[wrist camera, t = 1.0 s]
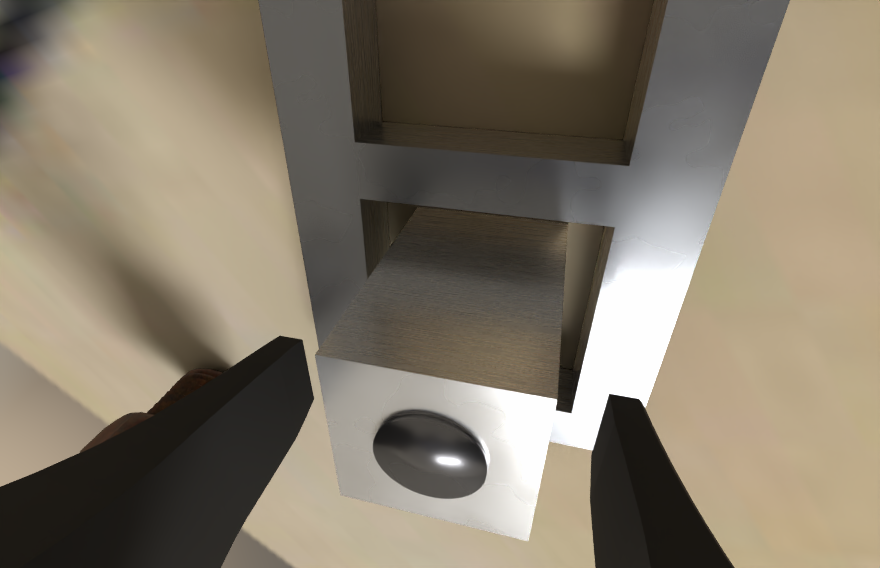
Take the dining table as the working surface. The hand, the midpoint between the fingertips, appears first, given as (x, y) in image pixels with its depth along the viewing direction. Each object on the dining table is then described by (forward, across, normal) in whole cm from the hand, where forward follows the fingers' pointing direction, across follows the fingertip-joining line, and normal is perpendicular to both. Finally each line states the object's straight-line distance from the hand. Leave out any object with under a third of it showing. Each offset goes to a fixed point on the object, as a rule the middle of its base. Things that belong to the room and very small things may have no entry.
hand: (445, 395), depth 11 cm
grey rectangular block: (+5, 0, 0) cm, 5 cm away
